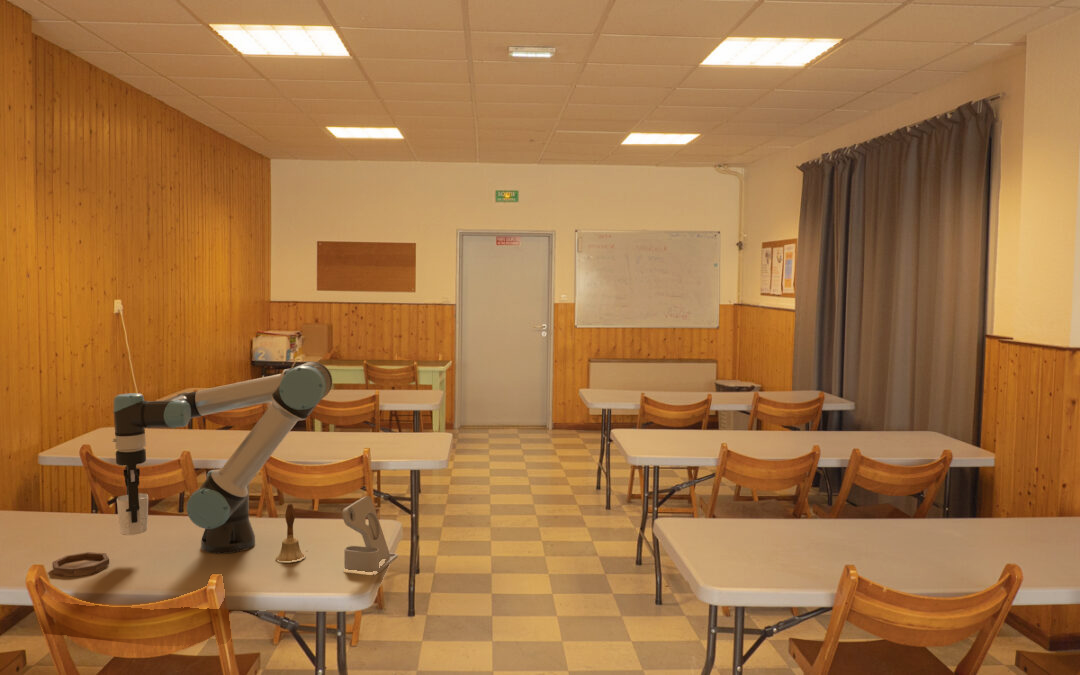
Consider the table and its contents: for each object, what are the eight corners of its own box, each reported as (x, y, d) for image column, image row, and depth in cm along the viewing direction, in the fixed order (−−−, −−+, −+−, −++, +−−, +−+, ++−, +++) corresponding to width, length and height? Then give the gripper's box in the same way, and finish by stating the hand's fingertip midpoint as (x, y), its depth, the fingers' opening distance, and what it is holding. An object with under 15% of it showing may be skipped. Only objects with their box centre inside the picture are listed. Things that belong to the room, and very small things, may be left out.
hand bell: (269, 561, 233) (269, 506, 231) (287, 552, 240) (287, 499, 239) (293, 565, 230) (293, 509, 229) (311, 556, 238) (311, 502, 236)
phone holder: (374, 576, 222) (375, 511, 221) (340, 573, 225) (340, 508, 223) (398, 556, 239) (399, 495, 238) (366, 552, 242) (367, 493, 240)
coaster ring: (118, 561, 230) (118, 554, 229) (86, 578, 217) (86, 570, 217) (76, 558, 231) (76, 551, 231) (42, 574, 219) (42, 566, 218)
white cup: (128, 538, 224) (127, 502, 223) (112, 533, 228) (110, 498, 228) (155, 530, 231) (154, 495, 230) (139, 526, 235) (137, 491, 234)
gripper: (114, 444, 235) (117, 522, 237) (116, 457, 217) (120, 541, 219) (143, 441, 239) (146, 518, 240) (147, 454, 221) (151, 537, 222)
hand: (134, 529), depth 230 cm, fingers closed on white cup, 7 cm apart
